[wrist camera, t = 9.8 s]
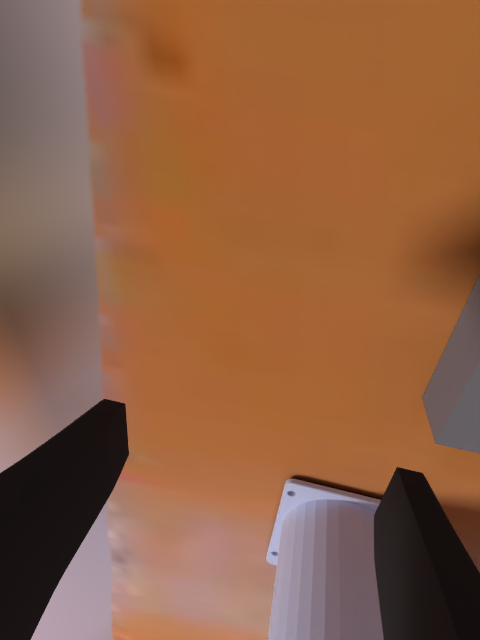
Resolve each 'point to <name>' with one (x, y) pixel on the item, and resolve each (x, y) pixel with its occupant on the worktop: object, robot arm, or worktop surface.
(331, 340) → the worktop surface
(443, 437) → the power strip
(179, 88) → the worktop surface
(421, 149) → the worktop surface
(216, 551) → the worktop surface
